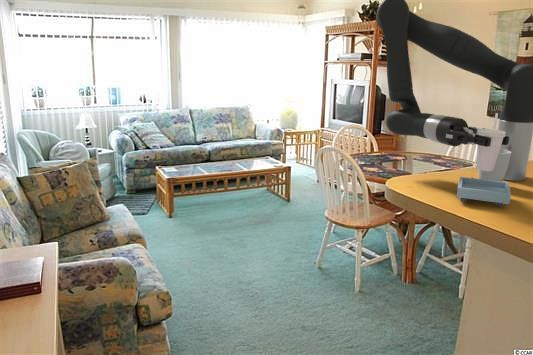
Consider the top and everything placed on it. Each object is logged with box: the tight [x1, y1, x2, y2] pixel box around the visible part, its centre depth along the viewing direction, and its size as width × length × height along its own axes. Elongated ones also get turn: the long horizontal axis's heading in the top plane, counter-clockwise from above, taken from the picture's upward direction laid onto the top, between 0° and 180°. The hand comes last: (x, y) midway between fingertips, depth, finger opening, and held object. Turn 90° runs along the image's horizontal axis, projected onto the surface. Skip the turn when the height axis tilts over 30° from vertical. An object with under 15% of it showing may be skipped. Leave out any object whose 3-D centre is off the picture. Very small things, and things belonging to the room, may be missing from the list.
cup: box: [477, 149, 511, 182], centre depth 126 cm, size 8×8×10 cm
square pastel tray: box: [456, 176, 512, 208], centre depth 112 cm, size 12×12×4 cm
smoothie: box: [476, 112, 506, 171], centre depth 109 cm, size 6×6×14 cm
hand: (498, 141), depth 107 cm, fingers closed on smoothie, 5 cm apart
